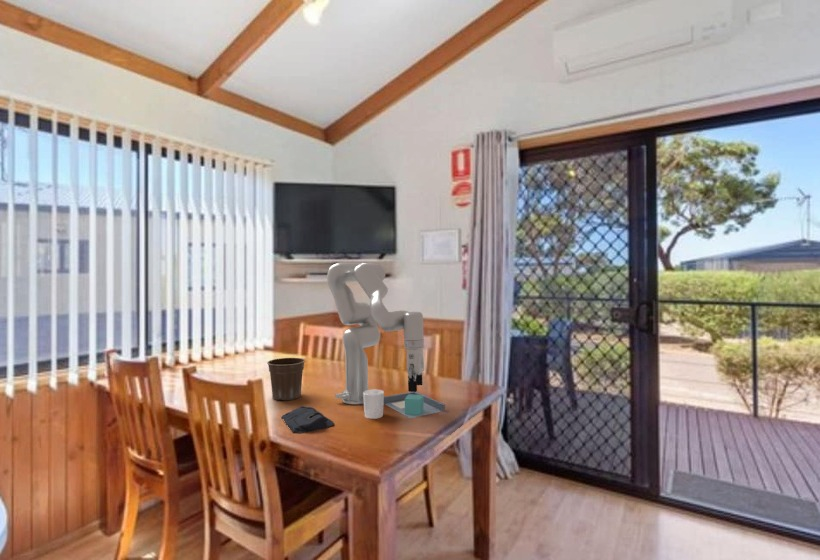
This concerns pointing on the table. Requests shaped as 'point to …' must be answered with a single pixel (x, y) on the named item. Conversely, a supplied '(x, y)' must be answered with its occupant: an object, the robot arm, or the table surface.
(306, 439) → the table surface
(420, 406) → the teal cube
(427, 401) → the tray
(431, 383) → the table surface
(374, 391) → the white cup
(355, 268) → the robot arm
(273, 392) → the plant pot
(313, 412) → the dark slate chunk
